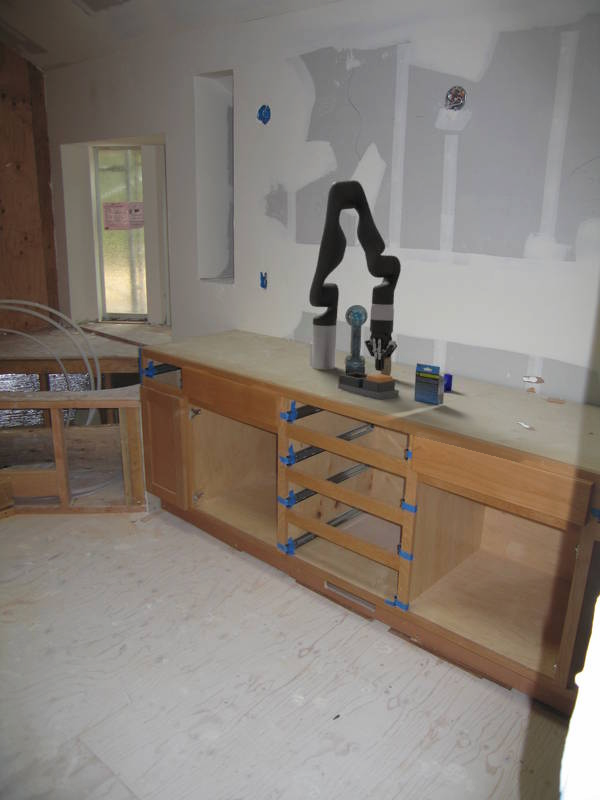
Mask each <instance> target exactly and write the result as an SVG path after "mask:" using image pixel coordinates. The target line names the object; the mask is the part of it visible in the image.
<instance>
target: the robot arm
mask: <svg viewBox="0 0 600 800" xmlns="http://www.w3.org/2000/svg"><path fill="white" fill-rule="evenodd" d="M353 209H354V210H355V211H356V212H357V215H358V223H357V227H356V237H357V240H358V241H359V244H360V246H361V248H362V249H363V250H362V251H363V252H364V254H365V255H364V256H365V260H366V267H367V270H368V272H369V274H370V275H371V276H372V277H374V278H376V279H377V278H378V279H381V278H382V280H381V283H380V284H378V285H375V286H373V288H372V295H371V308H370V316H369V317H370V320H369V322H370V324H369V333H370V335H369V339H368V340H364V344H365V347H366V349H367V350H368V353H369V356H370V357H373V358H374V361H375V362H374V368H375V371H378V372H381V371H382V370H383V369H384V360H385V359H386V358H389V357H390V356H391V357H392V355H393V353H394V352H395V350H397V347H398V345H397V344H394V343H393V342H392V340H393V338H392V333H393V332H394V319H395V318H394V317H395V314H394V313H395V308H394V301H395V291H396V288H397V285H398V281H399V278H400V275H401V271H402V268H401V267H402V266H401V261H400V259H399V258H398V257H397V256H395V255H385V254H383V253H384V251H385V250H386V243H385V241H384V239H383V237H382V235H381V233H380V231H379V229H378V228H377V225H376V223H375V221H374V218H373V215H372V212H371V208H370V205H369V202H368V198H367V196H366V192H365V189H364V188H363V186H362V184H361V183H360V181H358V180H355V179H353V180H340V181H334V182H333V183H332V184H331V185H330V187H329V189H328V195H327V201H326V212H325V221H324V227H323V232H322V236H321V240H320V246H319V250H318V251H319V252H318V256H317V261H316V262H317V263H316V267H315V272H314V275H313V278H312V282H311V286H310V290H309V293H308V294H309V297H308V298H309V303H310V305H311V307H315V308H326V310H325V311H324V312H323V313H321V314H317V315H316V316H314V317H312V342H311V343H310V353H309V358H310V360H309V363H310V364H309V366H310V367H311V368H312V369H313V370H314V369H315V370H319V371H320V370H321V371H330V370H334V369H336V350H337V349H336V345H337V322H338V310H339V309H338V307H339V299H340V297H339V296H340V294H339V293H340V292H339V286H338V285H337V283H334V282H325V281H326V279H327V278H328V277H329V276H330V274H331V273H333V271H335V269H337V267H339V265H341V263H342V262H343V260H344V257H345V254H346V248H347V237H346V234H345V233H344V229H342V226H341V223H340V216H341V213H342V211H343V210H353ZM382 353H383V354H382Z"/></svg>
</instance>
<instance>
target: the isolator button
mask: <svg viewBox="0 0 600 800" xmlns="http://www.w3.org/2000/svg"><path fill="white" fill-rule="evenodd" d="M366 380H368V381H372V382H377V383H383V382H389V381H392V380H393V376H391V375H390V376H388V375H383V374H381V373H374V374H368V375H366Z"/></svg>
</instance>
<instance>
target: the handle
mask: <svg viewBox="0 0 600 800" xmlns="http://www.w3.org/2000/svg"><path fill="white" fill-rule="evenodd" d="M392 342H393V343H394V344H396V343H397V341H396V340H394V339H392ZM382 354H383V353H382ZM391 373H392V355H391V356H390V357H389V358H386V359H385V360H384V369H383V370H382V371H380V374H383V375H388V376H391Z"/></svg>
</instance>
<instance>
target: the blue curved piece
mask: <svg viewBox="0 0 600 800" xmlns="http://www.w3.org/2000/svg"><path fill="white" fill-rule="evenodd" d="M443 377H444V391H445V392H452V390H453V388H452V386H453V377H454V376H453V374H451V373H444V374H443ZM447 390H448V391H447Z"/></svg>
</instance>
